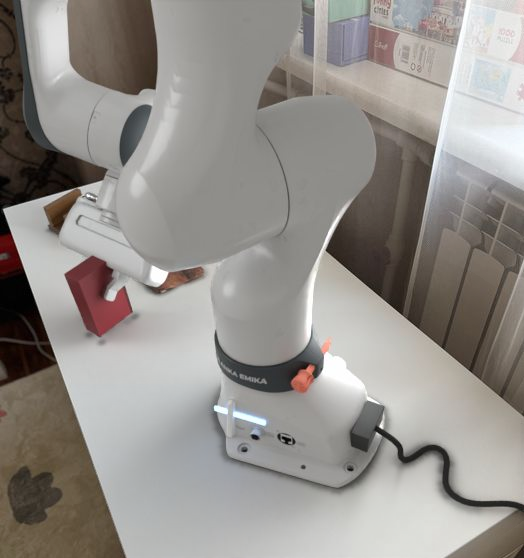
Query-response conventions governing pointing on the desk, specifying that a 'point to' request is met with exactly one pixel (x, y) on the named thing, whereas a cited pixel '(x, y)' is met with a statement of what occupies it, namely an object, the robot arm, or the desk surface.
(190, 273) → the brown flat bent piece
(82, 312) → the book
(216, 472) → the desk surface
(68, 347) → the desk surface
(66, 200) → the book rack
